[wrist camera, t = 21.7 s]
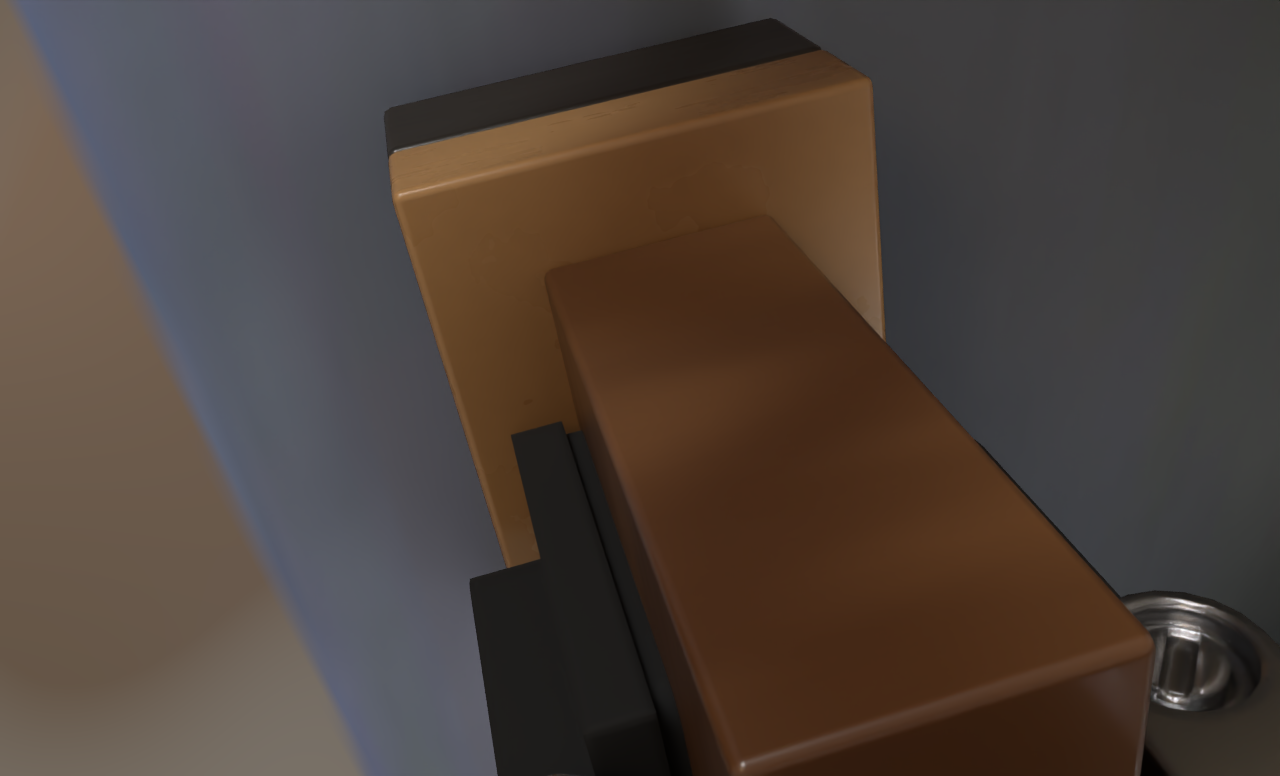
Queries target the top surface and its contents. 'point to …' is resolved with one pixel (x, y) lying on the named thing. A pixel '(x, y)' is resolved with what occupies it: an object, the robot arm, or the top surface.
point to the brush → (754, 416)
